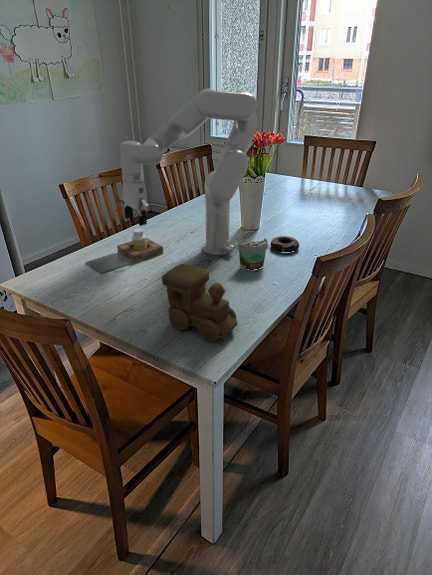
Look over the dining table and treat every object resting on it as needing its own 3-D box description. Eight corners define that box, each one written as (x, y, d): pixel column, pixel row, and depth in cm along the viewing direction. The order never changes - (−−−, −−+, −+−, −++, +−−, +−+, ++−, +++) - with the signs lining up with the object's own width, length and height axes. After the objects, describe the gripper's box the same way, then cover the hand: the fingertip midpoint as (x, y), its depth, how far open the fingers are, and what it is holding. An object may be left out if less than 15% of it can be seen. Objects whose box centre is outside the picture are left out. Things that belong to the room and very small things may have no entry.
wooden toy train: (162, 325, 123) (159, 276, 115) (185, 308, 131) (183, 261, 123) (219, 348, 114) (220, 296, 105) (240, 328, 122) (242, 278, 114)
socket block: (163, 253, 166) (162, 246, 165) (135, 263, 159) (134, 255, 157) (145, 243, 175) (144, 237, 173) (118, 252, 167) (117, 245, 166)
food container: (245, 275, 151) (246, 250, 146) (236, 268, 155) (237, 243, 150) (273, 268, 156) (275, 243, 151) (264, 261, 160) (265, 237, 155)
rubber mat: (129, 264, 158) (129, 263, 157) (100, 274, 151) (100, 273, 150) (113, 254, 165) (113, 253, 165) (85, 263, 158) (85, 262, 158)
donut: (264, 249, 171) (265, 240, 169) (281, 241, 178) (281, 232, 176) (288, 257, 164) (288, 248, 162) (304, 248, 171) (305, 239, 169)
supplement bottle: (134, 250, 169) (132, 227, 164) (147, 249, 169) (145, 227, 165) (133, 256, 164) (130, 233, 159) (147, 255, 165) (145, 232, 160)
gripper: (155, 180, 148) (156, 225, 157) (129, 170, 159) (132, 213, 168) (137, 184, 144) (140, 230, 152) (111, 173, 155) (115, 217, 163)
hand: (135, 221), depth 160 cm, fingers open, 9 cm apart
